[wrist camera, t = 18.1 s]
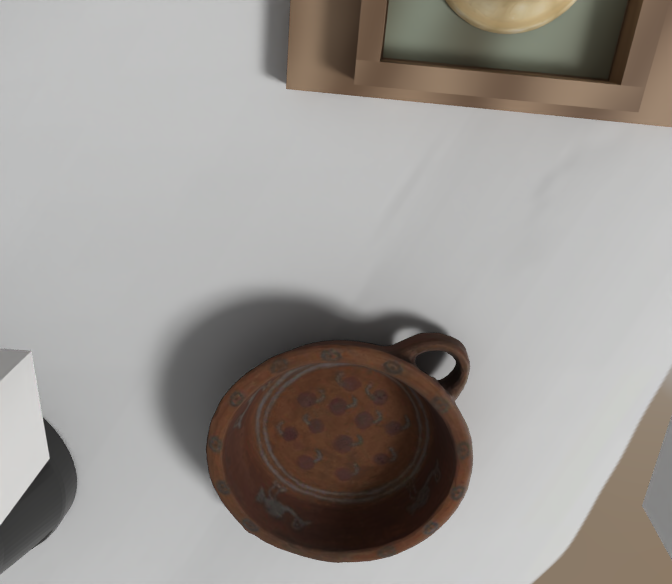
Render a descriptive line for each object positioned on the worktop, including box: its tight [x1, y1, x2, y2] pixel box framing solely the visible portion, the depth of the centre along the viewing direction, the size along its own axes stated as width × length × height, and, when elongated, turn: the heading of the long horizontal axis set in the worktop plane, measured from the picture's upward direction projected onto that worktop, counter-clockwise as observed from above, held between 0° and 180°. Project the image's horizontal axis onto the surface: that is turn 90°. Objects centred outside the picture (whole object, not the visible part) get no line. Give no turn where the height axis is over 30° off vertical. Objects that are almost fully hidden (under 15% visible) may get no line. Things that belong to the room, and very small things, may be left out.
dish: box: [206, 333, 473, 563], centre depth 43 cm, size 18×22×5 cm
